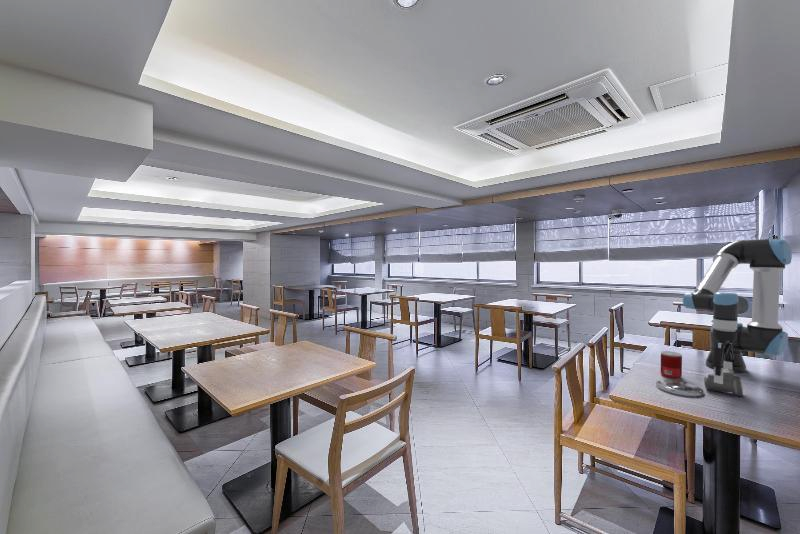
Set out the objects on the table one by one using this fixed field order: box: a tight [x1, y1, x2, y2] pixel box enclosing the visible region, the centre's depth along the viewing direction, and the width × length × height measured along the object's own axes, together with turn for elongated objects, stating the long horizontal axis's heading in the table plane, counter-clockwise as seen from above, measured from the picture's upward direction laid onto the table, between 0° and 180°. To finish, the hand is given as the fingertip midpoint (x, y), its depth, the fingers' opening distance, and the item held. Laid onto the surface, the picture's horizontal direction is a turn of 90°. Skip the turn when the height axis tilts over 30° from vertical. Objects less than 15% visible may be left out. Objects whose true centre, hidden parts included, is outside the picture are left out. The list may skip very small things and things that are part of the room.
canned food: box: [660, 350, 683, 380], centre depth 167 cm, size 8×8×11 cm
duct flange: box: [655, 379, 704, 398], centre depth 151 cm, size 16×16×2 cm
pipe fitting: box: [703, 368, 745, 397], centre depth 147 cm, size 12×8×10 cm
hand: (723, 379), depth 147 cm, fingers open, 13 cm apart
